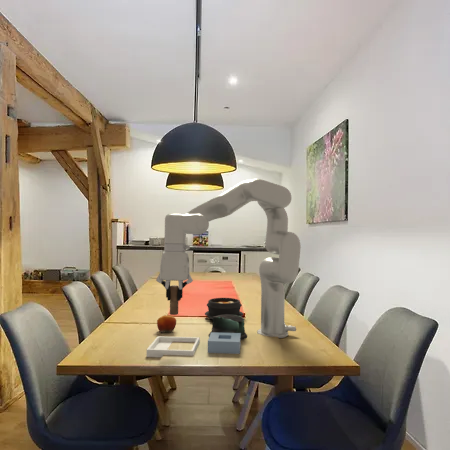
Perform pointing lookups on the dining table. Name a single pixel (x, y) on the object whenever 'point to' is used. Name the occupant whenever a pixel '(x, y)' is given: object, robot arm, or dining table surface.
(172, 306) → the pin
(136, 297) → the dining table surface
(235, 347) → the holder
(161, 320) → the fruit
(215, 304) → the casserole
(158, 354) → the tray
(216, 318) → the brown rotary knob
